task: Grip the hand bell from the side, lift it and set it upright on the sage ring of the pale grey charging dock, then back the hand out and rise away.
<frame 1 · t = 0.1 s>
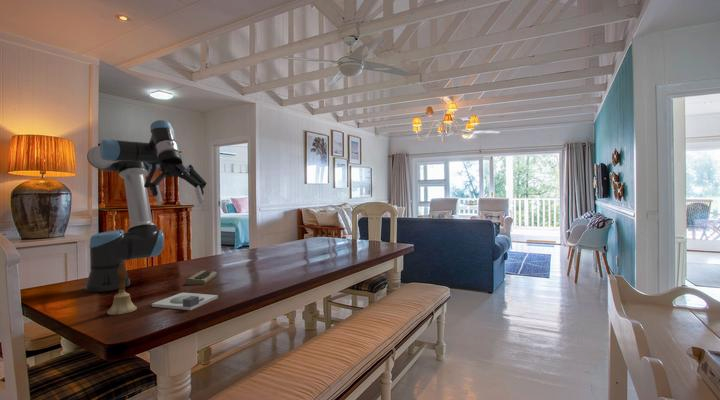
hand: (181, 202, 124), 36 cm above the table, tool tilted 35°, fingers open, 13 cm apart
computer: (202, 281, 160), on the table
hand bell: (122, 311, 119), on the table
charging dock: (186, 302, 127), on the table
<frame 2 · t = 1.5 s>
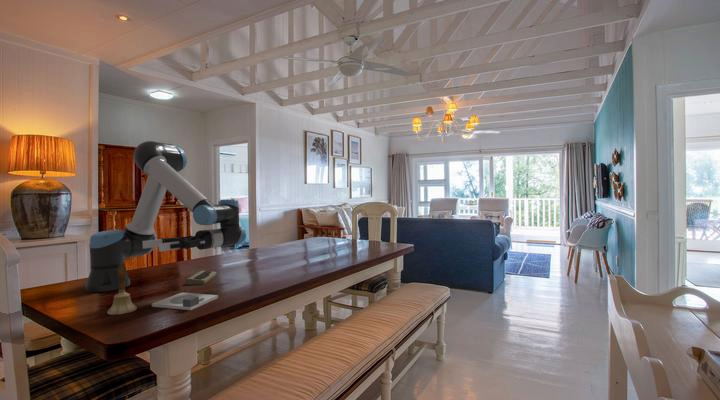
hand: (150, 246, 125), 20 cm above the table, tool horizontal, fingers open, 13 cm apart
nothing on the table moved.
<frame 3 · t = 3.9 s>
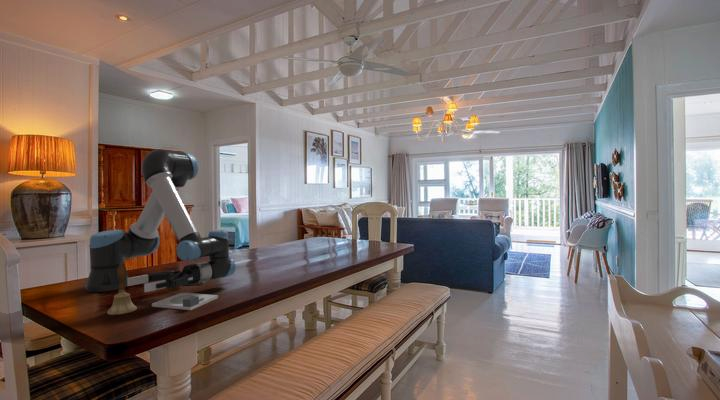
hand: (135, 285, 121), 8 cm above the table, tool horizontal, fingers open, 13 cm apart
nothing on the table moved.
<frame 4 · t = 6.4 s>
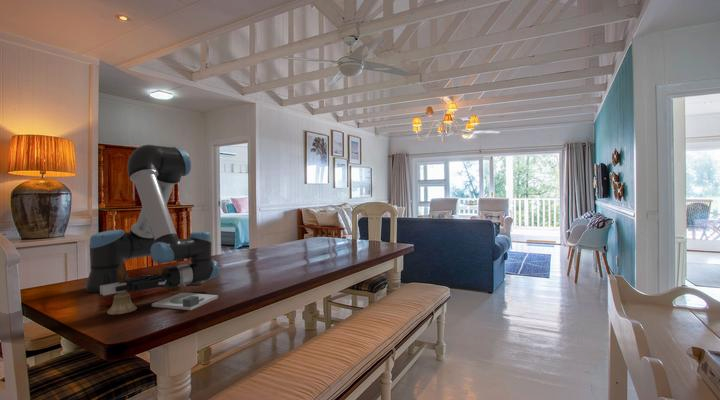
hand: (101, 290, 114), 8 cm above the table, tool horizontal, fingers closed on hand bell, 2 cm apart
hand bell: (122, 311, 119), on the table, touching gripper
everything else where it was.
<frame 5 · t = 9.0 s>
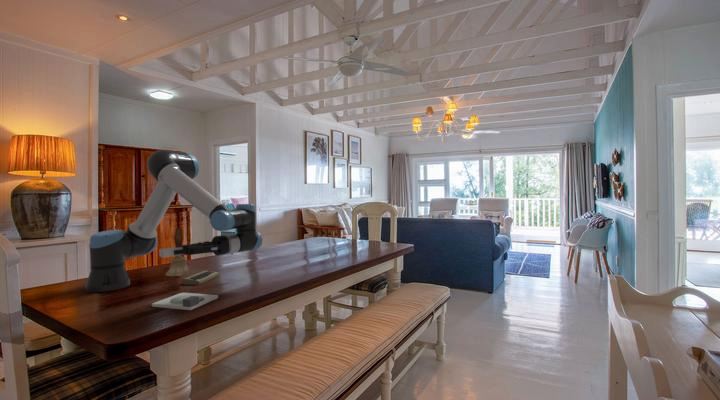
hand: (161, 253, 121), 19 cm above the table, tool horizontal, fingers closed on hand bell, 2 cm apart
hand bell: (178, 274, 126), point 10 cm above the table, touching gripper
when the fingers open (10 cm above the table, at t = 11.5 s): hand bell drops 1 cm, resting on charging dock.
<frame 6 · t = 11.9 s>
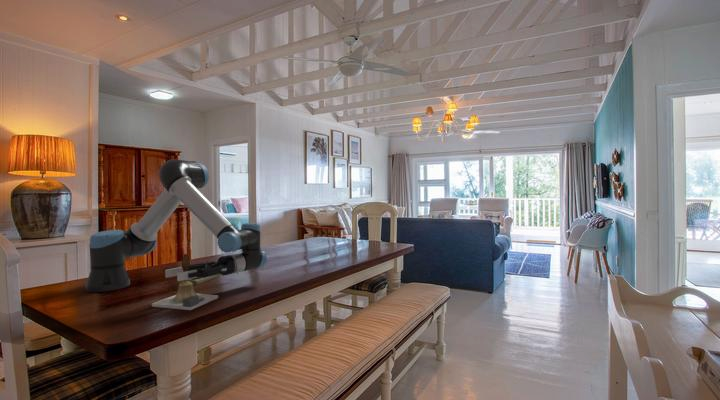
hand: (171, 275, 123), 10 cm above the table, tool horizontal, fingers open, 8 cm apart
hand bell: (186, 299, 127), point 1 cm above the table, touching charging dock
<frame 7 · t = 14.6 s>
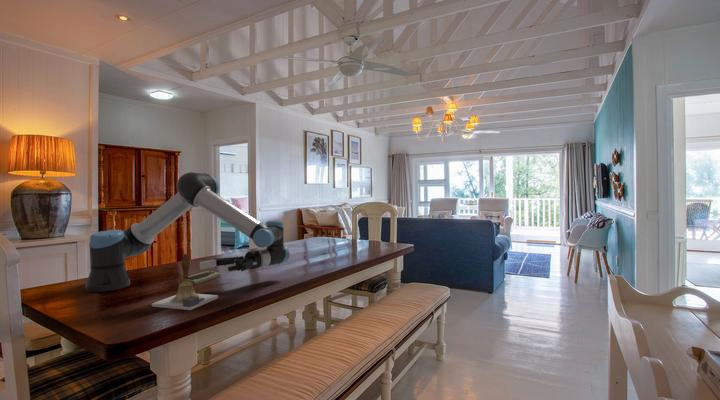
hand: (209, 268, 134), 11 cm above the table, tool horizontal, fingers open, 13 cm apart
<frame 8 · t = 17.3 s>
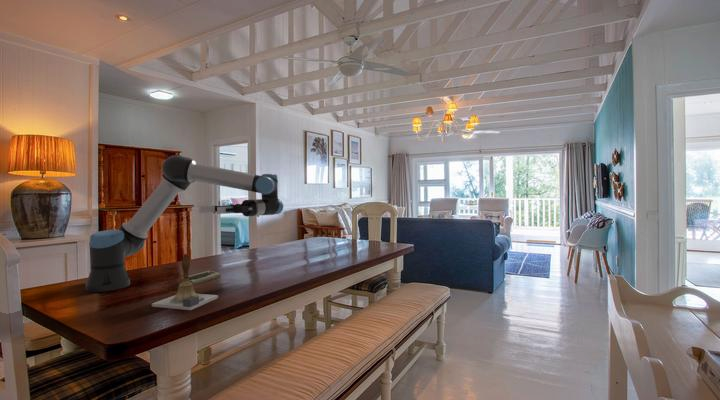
hand: (208, 210, 145), 32 cm above the table, tool horizontal, fingers open, 13 cm apart
at the end: hand bell inside the target area on the charging dock (0.0 cm from its centre), point 1.0 cm above the charging dock's base; hand bell tilted 0°; the gripper is holding nothing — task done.
